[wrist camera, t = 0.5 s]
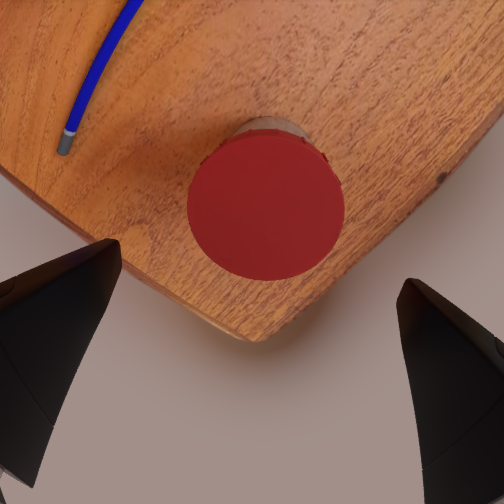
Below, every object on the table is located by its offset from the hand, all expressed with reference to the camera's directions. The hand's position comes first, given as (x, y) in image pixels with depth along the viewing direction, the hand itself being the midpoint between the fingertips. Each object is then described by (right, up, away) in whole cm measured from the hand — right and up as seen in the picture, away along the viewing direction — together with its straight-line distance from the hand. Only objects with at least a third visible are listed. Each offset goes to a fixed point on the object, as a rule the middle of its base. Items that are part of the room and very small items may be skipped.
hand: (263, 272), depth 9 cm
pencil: (-10, +14, +8) cm, 19 cm away
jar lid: (0, +2, +4) cm, 5 cm away
